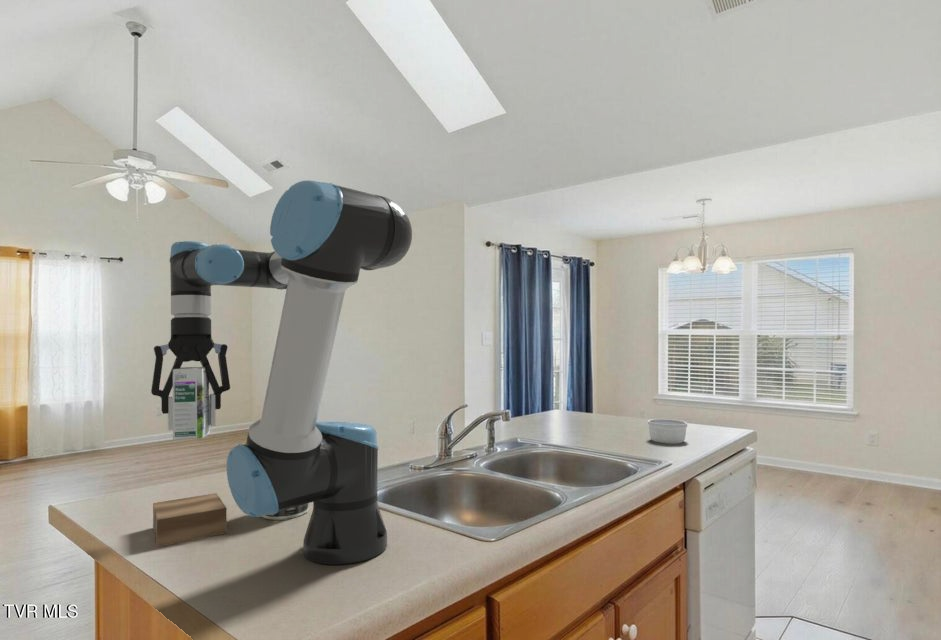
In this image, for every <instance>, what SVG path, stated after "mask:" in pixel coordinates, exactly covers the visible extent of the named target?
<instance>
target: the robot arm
mask: <svg viewBox="0 0 941 640" xmlns="http://www.w3.org/2000/svg"><path fill="white" fill-rule="evenodd" d="M269 227H270V228H269V231H270V232H269V234H270V236H272V237H271V239H270V242H271V245H272V246H271V247H272V249H273V250H274V251H271V252H262V251H254V250H245V249H236V248H235V247H233V246H231V245H229V244H221V243H220V244H211V245H209V244H208V243H206V242H200V241H194V240H193V241H191V240H184V241H176V242H173V244H172V245H171V246H170V257H169V266H170V267H169V268H170V270H169V271H170V314H171V316H173V317H172V318H171V319H170V339H169V341H168V343H165V344H163V345H155V346H154V347H153V352H154V355H155V360H154V367H153V374H152V375H153V376H152V383H151V389H150V391H151V392H150V393H151V394H152V395H153V396H155V397H156V396H157V397H160V399H161V400H160V401H161V405H160V406H161V413H162V414H163V415H164V414H166V415H167V430H168V431H169V432H170V431H173V396H170V393H171V392H172V390H173V369H180V368H182V365H183V362H184V363H187V362H191V361H193V362H200V364H201V367H205V371H206V374H207V377H208V380H209V386H211V389H212V392H213V393H210V427H216V410H221V407H222V397H221V396H222V393H224V392H227V391H229V390H230V389H231V384H230V378H229V370H228V369H229V368H228V364H227V363H228V361H227V356H226V355H227V352H228V345H227V344H226V343H223V344H222V343H215V342H214V340H213V338H212V319H211V318H210V317H209V316H211V314H212V286H227V287H243V288H246V287H247V288H263V289H265V288H266V289H277V290H285V294H284V301H283V305H282V311H281V316H280V321H279V327H278V331H277V336H276V342H275V346H274V347H275V348H274V351H273V357H272V362H271V366H270V372H269V377H268V381H267V382H268V383H267V387H266V392H265V397H264V403H263V408H262V412H261V418H260V419H257V420H256V421H254V422H253V423H251V425H250V426H249V428H248V432H247V437H246V442H245V444H244V443H243V444H242V443H239V444H238V445H236V446H233V448H232V449H230V450H229V452H228V454H227V458H226V477H227V483H228V487H229V489H230V493H231V495H232V498H233V500H234V501H235V504H236V506H237V507H238V508H239V509H240V511H241V512H243V513H244V514H245V515H246V516H249V517H252V518H259V517H261V516H264V515H268V514H276V513H278V512H279V511H283V510H286V509H290V508H293V507H297V506H300V505H304V504H307V503H308V504H311V503H312V504H313V506H312V507H313V508H312V513H311V516H310V518H309V521H308V524H307V528H306V530H305V534H304V537H303V542H302V543H303V546H302V551H303V556H304V557H305V558H306V559H307V560H309V561H311V562H314V563H317V564H321V565H322V564H323V565H347V564H355V563H359V562H363V561H367V560H369V559H370V560H371V559H373V558H376V556H378V555H380V554H382V553H383V552H384V551H385V550H386V549H387V547H388V531H387V527H386V524H385V522H384V520H383V516H382V513H381V510H380V507H379V503H378V501H379V500H378V459H379V458H378V451H379V446H378V437H377V430H376V429H375V428H374V426H371V425H369V424H366V423H361V422H359V423H358V422H351V421H350V422H347V421H318V418H319V417H318V415H319V412H320V407H321V404H322V403H321V402H322V398H323V394H324V393H323V392H324V389H325V384H326V380H327V375H328V371H329V366H330V361H331V358H332V352H333V348H334V344H335V339H336V335H337V331H338V325H339V321H340V316H341V311H342V308H343V303H344V297H345V293H346V291H347V289H348V288H350V287H352V286H353V285H356V284H357V283H358V280H359V276H360V273H361V270H363V271H375V270H378V269H382V268H383V269H384V268H389V267H391V266H394V265H396V264H397V263H399V262H400V261H402V259H403V258H404V257H406V254H407V253H409V252H408V251H410V248H411V245H412V240H413V228H412V224H411V221H410V218H409V217H408V214H407V213H406V211H405V210H404V209H403V208H402V207H401V206H400V205H399V204H398V203H397V202H395V201H394V200H393V199H390V198H388V197H386V196H382V195H377V194H374V193H368V192H364V191H361V190H357V189H354V188H348V187H345V186H340V185H337V184H334V183H332V182H324V181H322V182H321V181H315V180H310V179H309V180H308V179H307V180H301V181H298V182H296V183H294V184H293V185H291V186H290V187H289V188H288V189H287V190H286V189H285V191H284V192H283V194H282V195H281V196H280V198H279V199H278V202H277V203H276V205H275V207H274V210H273V213H272V216H271V220H270V226H269ZM212 349H214V353H215V354H217V360H218V366H219V373H220V374H219V375H220V382H221V385H219V383H218V380H217V378H216V376H215V374H214V371H213V368H212V366H211V364H210V361H209V359H208V357H207V356H208V354H210V352H211V350H212ZM168 350H170V352H172V354H173V355H174V356H175V357H176V358H175V359H174V362H173V365H172V368H171V370H170V372H169V375H168V376H167V379H166V382H165V384H164V385H163V389H160V385H161V378H162V371H163V363H164V356H165V355H166V354H167V352H168Z"/></svg>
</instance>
